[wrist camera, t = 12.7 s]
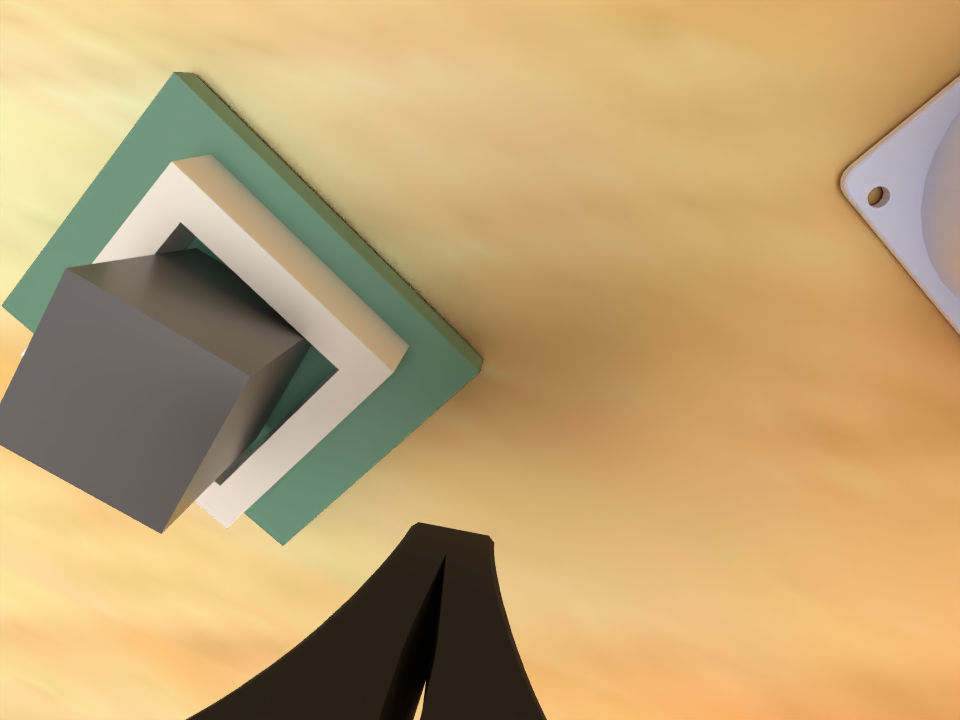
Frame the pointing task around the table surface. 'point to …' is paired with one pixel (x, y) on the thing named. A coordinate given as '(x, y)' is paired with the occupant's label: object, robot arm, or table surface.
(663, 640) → the table surface
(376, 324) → the frame
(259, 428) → the plug
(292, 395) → the board
